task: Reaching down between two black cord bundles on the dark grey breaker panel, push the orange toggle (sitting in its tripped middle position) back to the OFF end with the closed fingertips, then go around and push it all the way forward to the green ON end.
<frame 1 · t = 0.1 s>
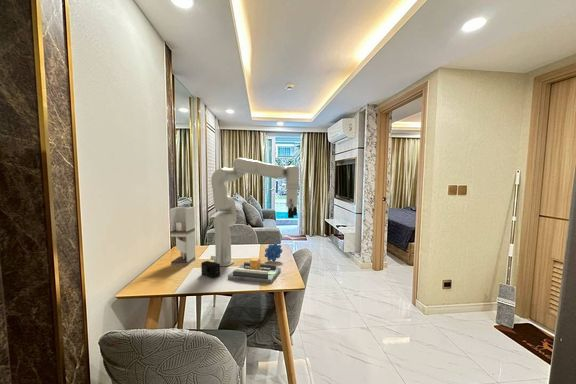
hand: (292, 216, 149), 31 cm above the table, fingers open, 9 cm apart
toggle: (255, 265, 141), point 6 cm above the table, slide at 5.0 cm
panel: (255, 275, 141), on the table
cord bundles: (255, 271, 141), resting on panel
grapes: (273, 260, 167), on the table
display case: (183, 262, 164), on the table
digital camera: (209, 276, 140), on the table
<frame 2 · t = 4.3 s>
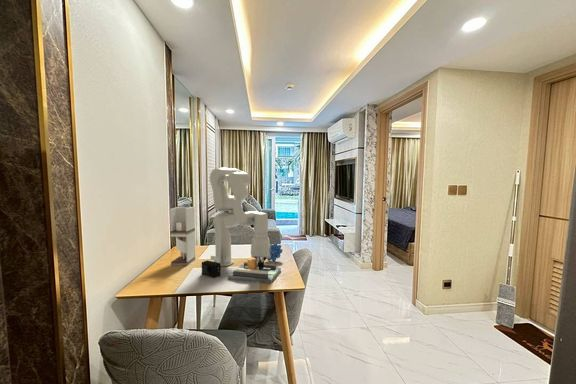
hand: (261, 268, 140), 4 cm above the table, fingers closed
toggle: (252, 264, 141), point 6 cm above the table, slide at 3.5 cm, touching gripper
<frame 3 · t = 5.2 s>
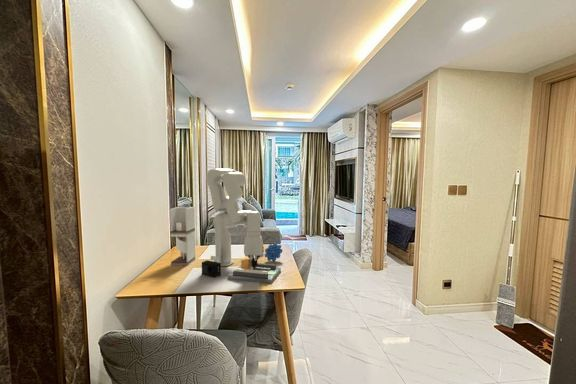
hand: (254, 267, 141), 5 cm above the table, fingers closed
toggle: (246, 264, 142), point 6 cm above the table, slide at -0.2 cm, touching gripper
everything else where it was.
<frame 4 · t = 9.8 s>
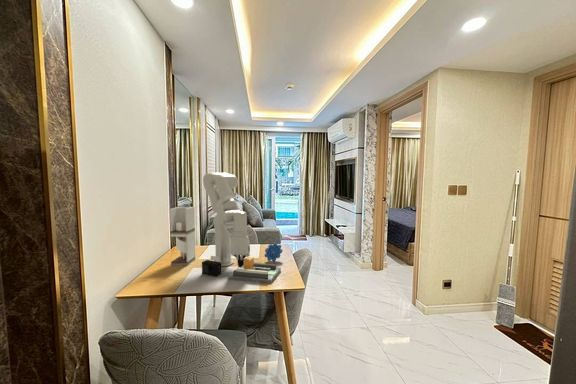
hand: (240, 266, 143), 4 cm above the table, fingers closed
toggle: (248, 264, 142), point 6 cm above the table, slide at 1.2 cm, touching gripper
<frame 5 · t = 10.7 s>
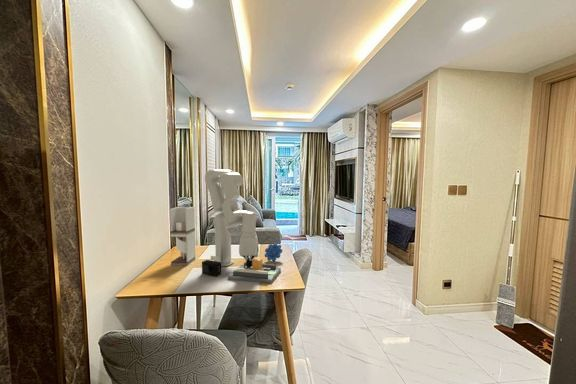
hand: (249, 267, 142), 4 cm above the table, fingers closed
toggle: (257, 265, 141), point 6 cm above the table, slide at 6.3 cm, touching gripper
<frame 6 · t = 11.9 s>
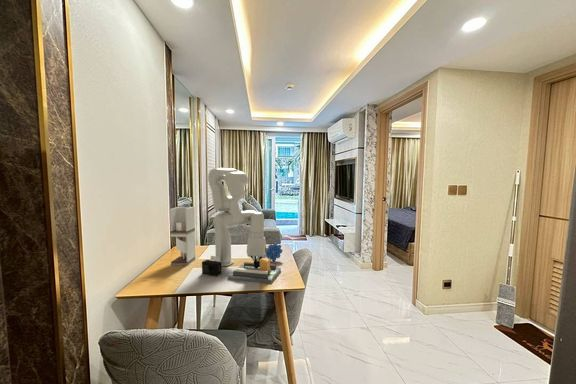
hand: (256, 267, 141), 4 cm above the table, fingers closed
toggle: (264, 265, 140), point 6 cm above the table, slide at 10.7 cm, touching gripper
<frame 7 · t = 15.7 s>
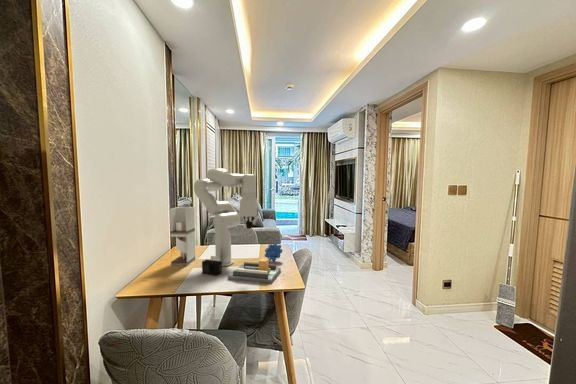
hand: (249, 228, 145), 25 cm above the table, fingers closed
toggle: (263, 265, 140), point 6 cm above the table, slide at 10.0 cm
at the end: toggle slide at 10.0 cm; toggle touching nothing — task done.
